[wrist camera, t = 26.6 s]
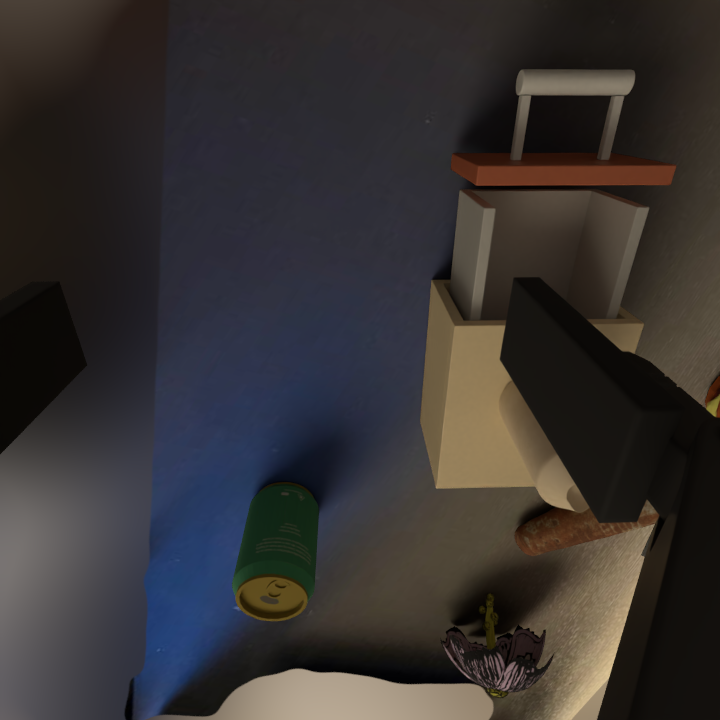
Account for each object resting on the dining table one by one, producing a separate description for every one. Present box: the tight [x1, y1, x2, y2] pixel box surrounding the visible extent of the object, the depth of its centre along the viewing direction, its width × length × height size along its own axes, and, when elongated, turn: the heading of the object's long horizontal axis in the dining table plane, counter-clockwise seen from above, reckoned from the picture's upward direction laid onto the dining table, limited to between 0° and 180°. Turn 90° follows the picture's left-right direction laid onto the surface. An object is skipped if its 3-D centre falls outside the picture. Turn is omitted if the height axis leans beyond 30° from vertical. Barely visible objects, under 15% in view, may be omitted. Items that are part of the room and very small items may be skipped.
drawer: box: [449, 69, 676, 321], centre depth 34 cm, size 20×13×8 cm, turn 0°
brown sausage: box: [515, 500, 659, 556], centre depth 53 cm, size 6×19×6 cm, turn 121°
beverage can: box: [232, 482, 319, 621], centre depth 49 cm, size 8×8×12 cm
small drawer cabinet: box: [420, 280, 644, 488], centre depth 41 cm, size 16×14×10 cm
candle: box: [499, 381, 589, 513], centre depth 32 cm, size 6×6×10 cm
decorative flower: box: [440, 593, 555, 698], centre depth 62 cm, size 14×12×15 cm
